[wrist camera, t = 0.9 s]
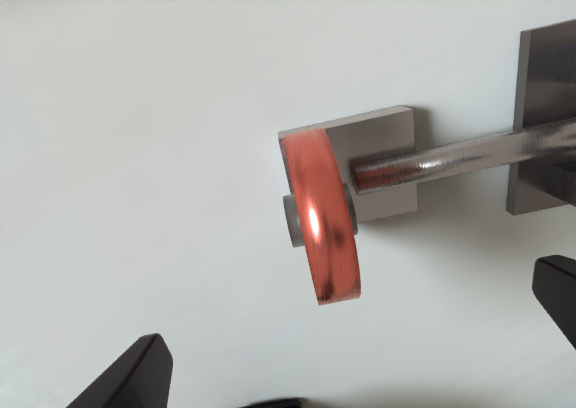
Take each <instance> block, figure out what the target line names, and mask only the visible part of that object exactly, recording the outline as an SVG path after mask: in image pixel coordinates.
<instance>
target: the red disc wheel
mask: <svg viewBox="0 0 576 408" xmlns="http://www.w3.org/2000/svg"><path fill="white" fill-rule="evenodd" d="M278 139H279V144H280V148H281V153H282V157H283V161H284V166H285V170H286V175H287V179H288V183H289V188H290V192H291V195H287V196H283V202H284V209H285V214H286V220H287V224H288V229H289V233H290V237H291V241H292V245H293V247H294V248H295V247H300V246H304V245H305V248H306V253H307V257H308V262H309V266H310V271H311V275H312V279H313V284H314V288H315V292H316V296H317V300H318V304H319V306H320V305H325V304H330V303H335V302H340V301H346V300H351V299H356V298H359V297H360V294H361V282H360V271H359V263H358V256H357V250H356V244H355V238H354V235H357V233H358V227H357V223H361V222H366V221H370V220H375V219H380V218H385V217H390V216H395V215H400V214H404V213H409V212H414V211H418V200H417V183H420V182H425V181H429V180H434V179H439V178H444V177H448V176H453V175H458V174H462V173H467V172H472V171H477V170H481V169H486V168H491V167H496V166H500V165H505V164H510V163H515V162H519V161H524V160H529V159H534V158H538V157H543V156H548V155H553V154H557V153H562V152H567V151H572V150H576V117H574V118H569V119H565V120H560V121H556V122H551V123H546V124H542V125H537V126H532V127H528V128H523V129H519V130H514V131H509V132H505V133H500V134H495V135H491V136H486V137H481V138H477V139H472V140H468V141H463V142H458V143H454V144H449V145H444V146H440V147H435V148H431V149H426V150H421V151H417V152H415V137H414V116H413V109H411V108H408V107H405V106H402V105H399V106H394V107H390V108H385V109H381V110H377V111H372V112H368V113H363V114H359V115H354V116H350V117H345V118H341V119H336V120H332V121H327V122H323V123H319V124H314V125H310V126H305V127H301V128H296V129H292V130H287V131H283V132H278Z"/></svg>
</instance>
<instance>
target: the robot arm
mask: <svg viewBox="0 0 576 408" xmlns="http://www.w3.org/2000/svg"><path fill="white" fill-rule="evenodd" d="M532 290H533V293H534V295H535V297H536V298H537V300H538V301H539V302H540V304H541V305H542V306H543V308H544V309H545V310H546V311H547V313H548V314H549V315H550V317H551V318H552V319H553V321H554V322H555V323H556V325H557V326H558V327H559V329H560V330H561V331H562V332H563V334H564V335H565V336H566V338H567V339H568V340H569V342H570V343H571V344H572V346H573V347H574V348H575V349H576V260H574V259H571V258H568V257H564V256H560V255H551V256H546V257H541V258H539V259H537V260H536V262H535V265H534V273H533V281H532ZM172 369H173V359H172V355H171V353H170V351H169V349H168V347H167V345H166V343H165V342H164V340H163V338H162V336H161V335H160V334H158V333H154V334H149V335H144V336H142V337H140V338H139V339H138V340H137V341H136V342H135V343H134V344H133V345H132V346H131V347H129V348H128V349H127V350H126V351H125V352H124V353H123V354H122V355H121V356H120V357H119V358H118V359H117V360H116V361H115V362H114V363H113V364H112V365H110V366H109V367H108V368H107V369H106V370H105V371H104V372H103V373H102V374H101V375H100V376H99V377H98V378H97V379H96V380H95V381H94V382H93V383H92V384H90V385H89V386H88V387H87V388H86V389H85V390H84V391H83V392H82V393H81V394H80V395H79V396H78V397H77V398H76V399H75V400H74V401H73V402H71V403H70V404H69V405H68V406H67V407H66V408H167V403H168V396H169V389H170V382H171V376H172ZM252 408H302V404H301V402H300V401H298V400H291V401H286V402H280V403H275V404H269V405H264V406H258V407H252Z"/></svg>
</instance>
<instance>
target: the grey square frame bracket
mask: <svg viewBox="0 0 576 408" xmlns="http://www.w3.org/2000/svg"><path fill="white" fill-rule="evenodd" d="M574 117H576V19H573V20H569V21H565V22H560V23H556V24H552V25H547V26H543V27H539V28H534V29H530V30H526V31H521V37H520V50H519V62H518V74H517V87H516V99H515V111H514V124H513V131H514V130H519V129H523V128H528V127H532V126H537V125H542V124H546V123H551V122H556V121H560V120H565V119H569V118H574ZM567 204H571V205H573V206H575V207H576V150H572V151H567V152H562V153H557V154H553V155H548V156H543V157H538V158H534V159H529V160H524V161H519V162H515V163H510V173H509V185H508V198H507V210H506V211H508V212H509V213H511V214H513V215H518V214H523V213H528V212H533V211H538V210H543V209H548V208H552V207H557V206H562V205H567Z"/></svg>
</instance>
